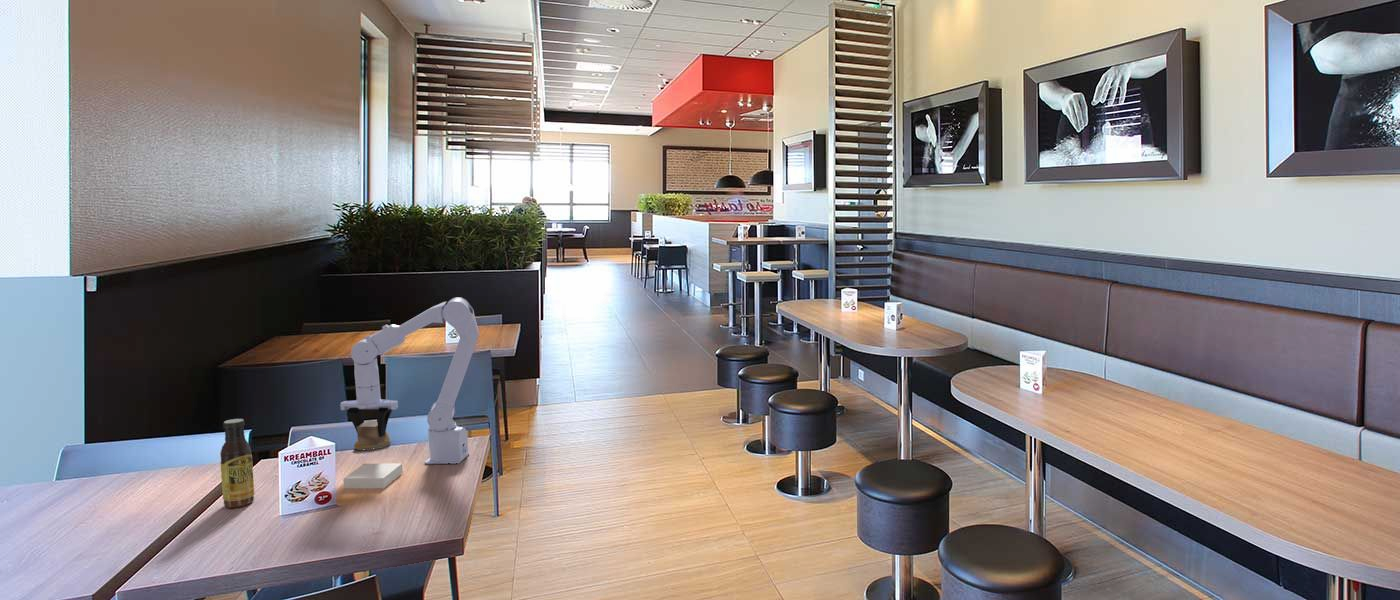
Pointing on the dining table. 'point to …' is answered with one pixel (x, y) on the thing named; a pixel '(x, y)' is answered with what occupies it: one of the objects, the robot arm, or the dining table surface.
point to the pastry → (382, 444)
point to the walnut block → (369, 433)
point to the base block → (373, 476)
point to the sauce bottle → (236, 466)
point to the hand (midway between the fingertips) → (371, 435)
